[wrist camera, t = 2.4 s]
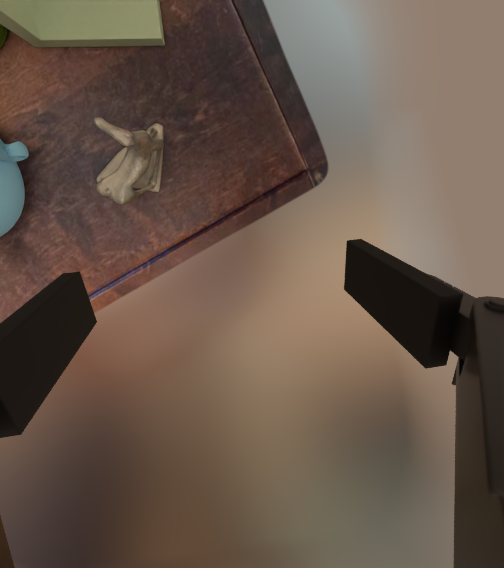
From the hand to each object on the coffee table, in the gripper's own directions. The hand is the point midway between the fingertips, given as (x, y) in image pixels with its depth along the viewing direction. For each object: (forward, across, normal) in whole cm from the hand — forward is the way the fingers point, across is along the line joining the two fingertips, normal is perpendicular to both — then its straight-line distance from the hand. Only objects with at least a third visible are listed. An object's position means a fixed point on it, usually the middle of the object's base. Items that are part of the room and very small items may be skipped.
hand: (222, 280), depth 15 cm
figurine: (+29, -9, +5) cm, 30 cm away
